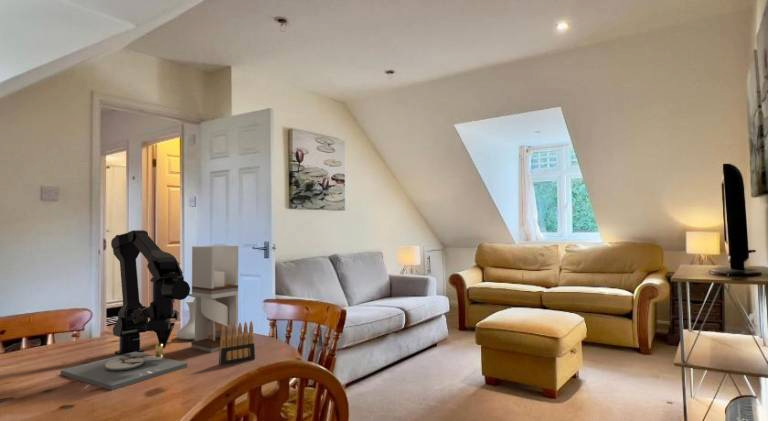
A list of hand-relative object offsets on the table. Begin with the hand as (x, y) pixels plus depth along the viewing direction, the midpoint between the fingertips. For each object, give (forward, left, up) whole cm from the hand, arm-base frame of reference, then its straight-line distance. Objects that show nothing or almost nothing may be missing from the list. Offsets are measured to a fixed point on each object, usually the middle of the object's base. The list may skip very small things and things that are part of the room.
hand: (162, 348), depth 139 cm
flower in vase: (-19, +26, -5) cm, 33 cm away
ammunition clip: (+19, +12, -5) cm, 23 cm away
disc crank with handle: (-1, -8, -3) cm, 9 cm away
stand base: (-3, -10, -5) cm, 11 cm away
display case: (-2, +21, -5) cm, 22 cm away
